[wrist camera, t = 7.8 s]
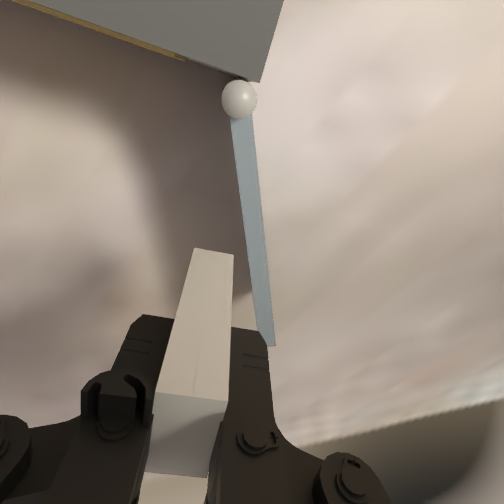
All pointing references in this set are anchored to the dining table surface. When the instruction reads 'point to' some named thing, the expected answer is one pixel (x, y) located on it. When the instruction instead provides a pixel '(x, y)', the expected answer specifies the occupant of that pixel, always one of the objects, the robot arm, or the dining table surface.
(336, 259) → the dining table surface
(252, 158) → the side door
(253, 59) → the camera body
